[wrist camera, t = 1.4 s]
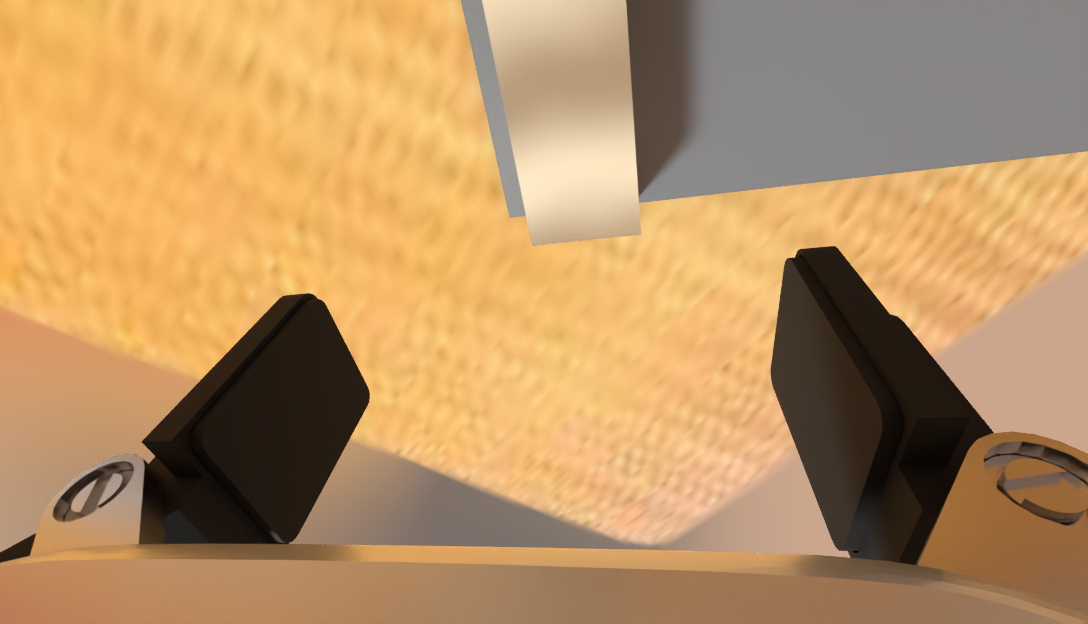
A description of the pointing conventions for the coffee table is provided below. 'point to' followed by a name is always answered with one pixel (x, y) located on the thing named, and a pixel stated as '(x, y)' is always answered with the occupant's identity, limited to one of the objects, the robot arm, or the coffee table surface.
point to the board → (831, 89)
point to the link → (568, 114)
